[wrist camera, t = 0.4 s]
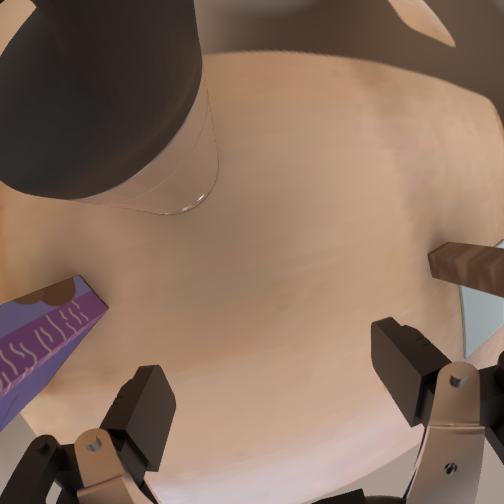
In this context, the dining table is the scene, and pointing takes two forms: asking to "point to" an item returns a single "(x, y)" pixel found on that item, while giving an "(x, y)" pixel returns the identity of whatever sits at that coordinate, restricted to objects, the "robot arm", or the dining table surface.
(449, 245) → the archway
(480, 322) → the mat
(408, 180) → the dining table surface
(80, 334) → the cereal box
